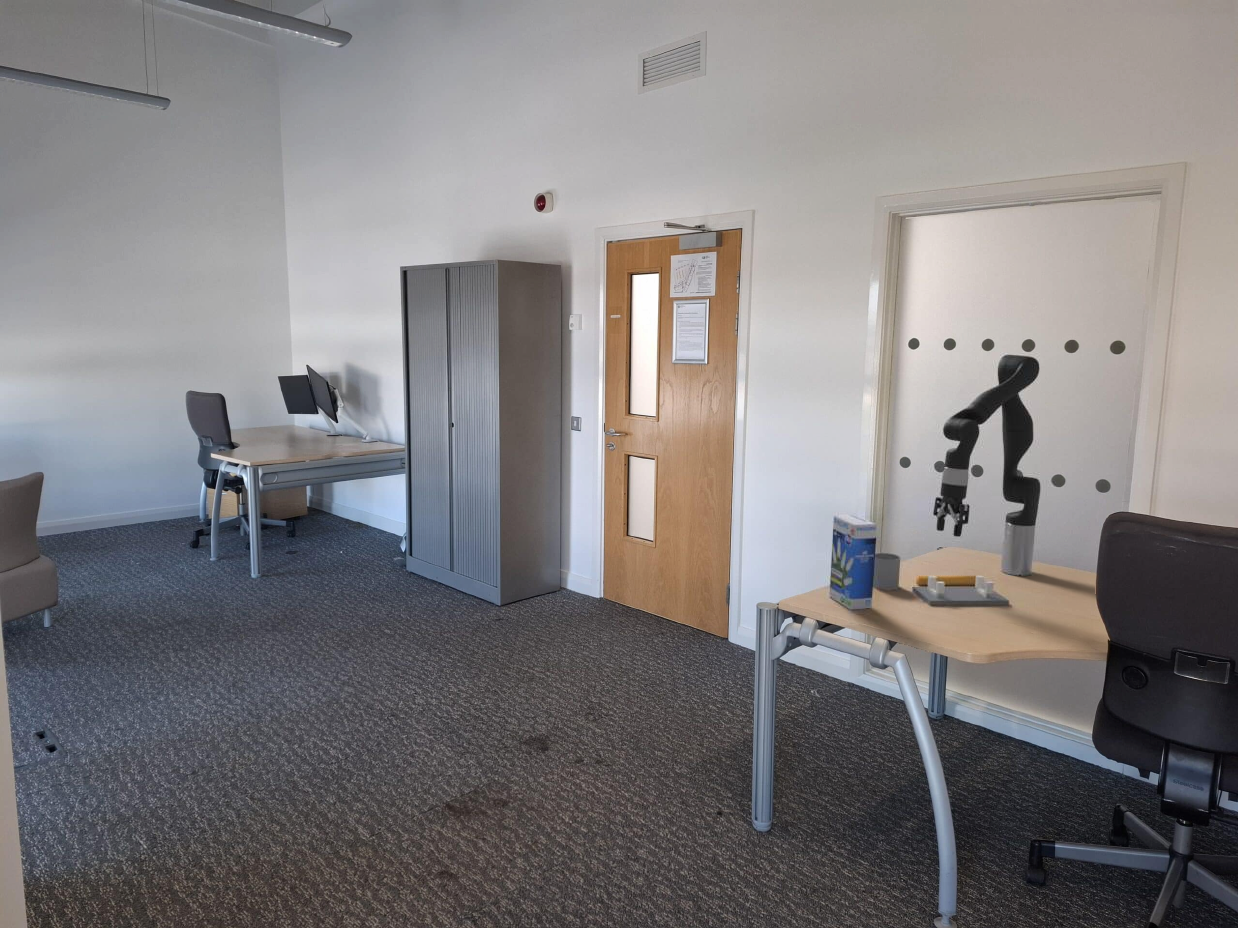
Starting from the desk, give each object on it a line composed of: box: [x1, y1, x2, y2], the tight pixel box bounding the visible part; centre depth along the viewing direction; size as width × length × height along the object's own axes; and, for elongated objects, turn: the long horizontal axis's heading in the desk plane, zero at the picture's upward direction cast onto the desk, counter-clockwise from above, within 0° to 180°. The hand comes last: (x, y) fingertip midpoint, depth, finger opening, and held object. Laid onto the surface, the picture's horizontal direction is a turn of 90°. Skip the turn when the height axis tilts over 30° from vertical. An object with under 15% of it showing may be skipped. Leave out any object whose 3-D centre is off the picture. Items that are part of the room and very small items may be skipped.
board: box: [911, 575, 1010, 607], centre depth 256 cm, size 14×24×6 cm, turn 92°
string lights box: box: [829, 514, 878, 611], centre depth 249 cm, size 13×8×26 cm, turn 14°
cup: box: [873, 552, 901, 592], centre depth 267 cm, size 8×8×10 cm
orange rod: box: [915, 575, 977, 586], centre depth 270 cm, size 21×3×3 cm, turn 92°
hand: (948, 533), depth 261 cm, fingers open, 8 cm apart
